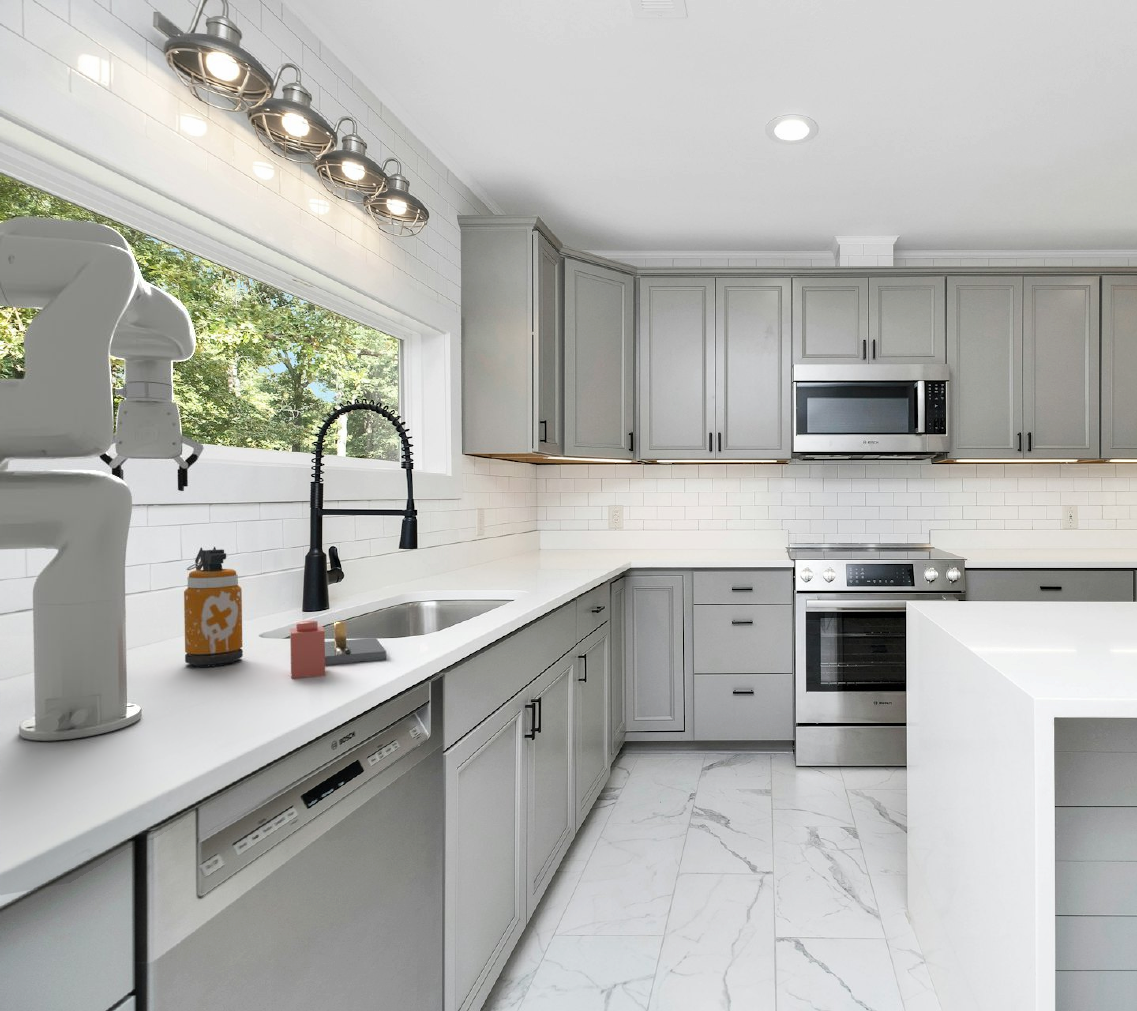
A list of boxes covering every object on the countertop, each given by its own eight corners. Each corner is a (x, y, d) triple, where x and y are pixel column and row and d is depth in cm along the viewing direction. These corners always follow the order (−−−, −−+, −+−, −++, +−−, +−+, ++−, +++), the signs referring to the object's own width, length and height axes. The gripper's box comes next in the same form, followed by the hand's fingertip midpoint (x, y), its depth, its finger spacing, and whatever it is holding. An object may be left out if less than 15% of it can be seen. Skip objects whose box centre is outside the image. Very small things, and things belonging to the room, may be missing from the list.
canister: (193, 671, 120) (191, 549, 120) (176, 660, 129) (174, 547, 129) (249, 662, 126) (247, 546, 126) (229, 653, 135) (228, 544, 134)
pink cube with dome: (325, 675, 116) (324, 623, 116) (291, 678, 114) (290, 625, 114) (323, 668, 121) (322, 619, 120) (290, 671, 119) (290, 621, 119)
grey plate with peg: (386, 660, 126) (385, 625, 126) (300, 668, 121) (299, 632, 121) (375, 645, 140) (375, 614, 140) (297, 652, 135) (297, 619, 134)
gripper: (87, 390, 124) (89, 491, 124) (201, 394, 131) (202, 490, 131) (97, 396, 131) (98, 491, 131) (204, 400, 138) (206, 491, 138)
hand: (150, 491), depth 131 cm, fingers open, 9 cm apart
